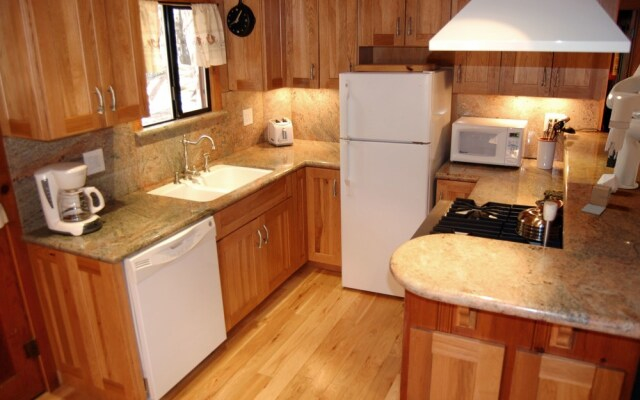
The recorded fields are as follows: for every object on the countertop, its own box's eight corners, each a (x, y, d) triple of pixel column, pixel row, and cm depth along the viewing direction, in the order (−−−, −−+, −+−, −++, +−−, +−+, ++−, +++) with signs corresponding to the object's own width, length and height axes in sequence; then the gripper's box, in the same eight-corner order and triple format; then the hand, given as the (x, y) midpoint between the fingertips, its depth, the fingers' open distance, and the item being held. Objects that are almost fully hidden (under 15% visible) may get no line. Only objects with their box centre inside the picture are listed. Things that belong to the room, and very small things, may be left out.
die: (617, 197, 228) (628, 178, 228) (600, 187, 228) (611, 168, 228) (606, 198, 236) (617, 179, 236) (590, 187, 236) (601, 169, 236)
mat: (587, 204, 218) (587, 203, 217) (605, 208, 213) (605, 207, 213) (580, 211, 211) (580, 210, 210) (599, 215, 206) (599, 214, 206)
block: (593, 200, 222) (596, 183, 219) (608, 203, 219) (612, 186, 216) (589, 204, 218) (592, 186, 215) (604, 207, 214) (608, 189, 212)
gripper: (613, 121, 220) (605, 162, 226) (605, 126, 210) (596, 168, 216) (633, 123, 216) (624, 165, 222) (625, 128, 205) (615, 172, 211)
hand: (610, 167), depth 219 cm, fingers closed
